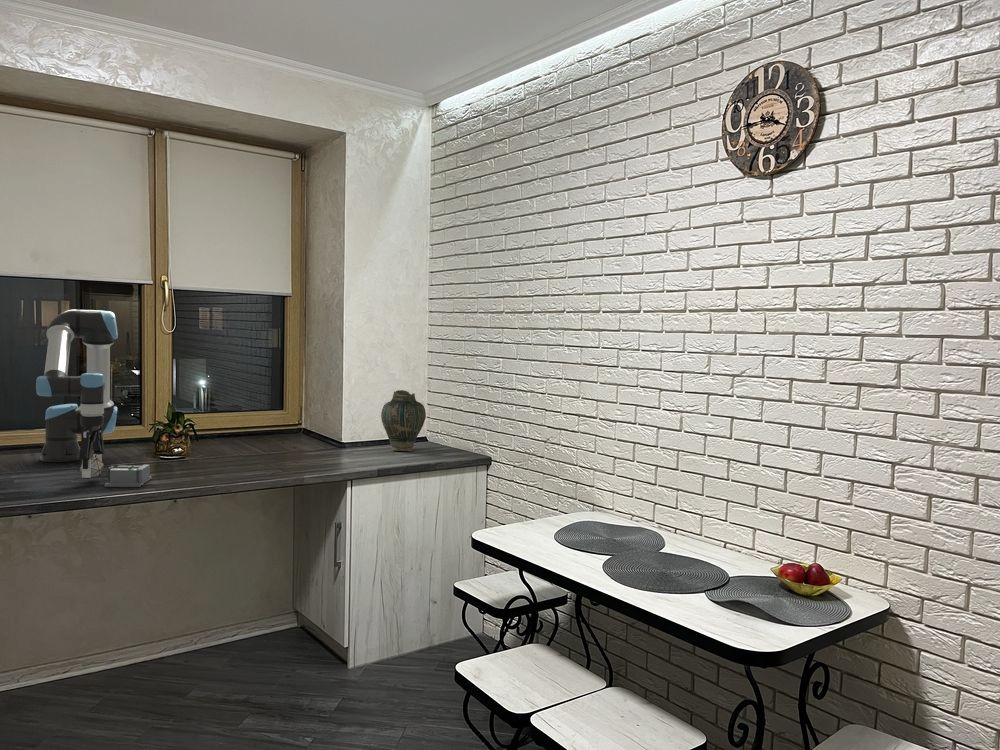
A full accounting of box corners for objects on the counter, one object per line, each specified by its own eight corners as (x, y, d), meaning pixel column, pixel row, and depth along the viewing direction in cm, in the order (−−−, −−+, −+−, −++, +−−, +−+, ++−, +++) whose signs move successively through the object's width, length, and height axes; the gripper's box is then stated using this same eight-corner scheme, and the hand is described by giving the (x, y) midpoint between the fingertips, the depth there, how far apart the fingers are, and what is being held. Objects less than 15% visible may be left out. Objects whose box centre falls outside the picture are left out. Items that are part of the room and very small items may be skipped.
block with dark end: (112, 477, 271) (112, 463, 271) (138, 477, 273) (138, 464, 273) (104, 481, 264) (105, 467, 264) (131, 481, 266) (131, 467, 266)
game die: (86, 488, 267) (67, 468, 263) (96, 475, 275) (78, 456, 270) (105, 478, 266) (87, 458, 262) (115, 465, 273) (97, 445, 269)
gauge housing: (118, 478, 276) (118, 462, 276) (151, 478, 278) (151, 463, 278) (104, 486, 262) (104, 470, 262) (139, 486, 264) (139, 470, 264)
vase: (379, 446, 371) (381, 388, 369) (422, 446, 375) (424, 389, 373) (380, 454, 349) (382, 392, 347) (426, 454, 354) (428, 393, 352)
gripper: (92, 410, 277) (92, 468, 279) (68, 418, 255) (68, 481, 257) (113, 411, 278) (113, 468, 280) (91, 419, 256) (91, 481, 258)
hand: (91, 474), depth 268 cm, fingers closed on game die, 10 cm apart
